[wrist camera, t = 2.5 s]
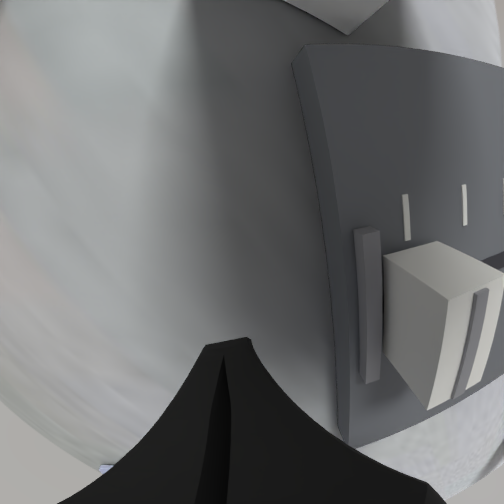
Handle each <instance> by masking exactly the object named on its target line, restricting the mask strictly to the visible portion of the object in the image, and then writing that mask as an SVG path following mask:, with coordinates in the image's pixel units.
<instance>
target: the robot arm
mask: <svg viewBox="0 0 504 504" xmlns="http://www.w3.org/2000/svg"><path fill="white" fill-rule="evenodd" d="M99 470H100V472H101V473H102V474H103V475H102V476H101V477H99V478H98V479H96V480H95V481H94V482H92V483H91V484H90V485H88V486H86V487H85V488H83V489H82V490H81V491H79V492H77V493H76V494H74V495H72V496H71V497H69V498H67V499H65V500H63V501H61V502H59V503H57V504H446V502H445V501H444V500H443V499H442V497H441V496H440V495H439V494H438V493H437V492H436V491H435V490H434V489H433V488H432V487H431V486H430V485H429V484H428V483H427V482H424V481H422V480H419V479H416V478H414V477H411V476H408V475H406V474H403V473H401V472H398V471H396V470H394V469H392V468H389V467H387V466H385V465H383V464H381V463H379V462H377V461H375V460H373V459H371V458H369V457H368V456H366V455H364V454H362V453H360V452H359V451H357V450H355V449H354V448H352V447H351V446H349V445H348V444H346V443H344V442H343V441H341V440H340V439H338V438H337V437H335V436H334V435H332V434H331V433H329V432H328V431H327V430H325V429H324V428H323V427H322V426H320V425H319V424H318V423H317V422H315V421H314V420H313V419H312V418H311V417H309V416H308V415H307V414H306V413H305V412H304V411H303V410H302V409H300V408H299V407H298V406H297V405H296V404H295V403H294V402H293V401H292V400H291V399H290V398H289V397H288V395H287V394H286V393H285V392H284V391H283V390H282V389H281V388H280V387H279V385H278V384H277V383H276V382H275V381H274V379H273V378H272V377H271V375H270V374H269V373H268V371H267V370H266V369H265V367H264V366H263V364H262V363H261V361H260V359H259V358H258V356H257V354H256V352H255V350H254V348H253V345H252V341H251V339H249V338H247V337H244V338H239V339H234V340H229V341H224V342H219V343H213V344H208V345H205V347H204V348H203V350H202V352H201V353H200V355H199V357H198V359H197V361H196V363H195V364H194V366H193V368H192V370H191V371H190V373H189V375H188V377H187V378H186V380H185V381H184V383H183V385H182V386H181V388H180V389H179V391H178V393H177V394H176V396H175V397H174V399H173V400H172V401H171V403H170V404H169V406H168V407H167V408H166V410H165V411H164V413H163V414H162V416H161V417H160V418H159V419H158V421H157V422H156V423H155V424H154V426H153V427H152V428H151V429H150V430H149V432H148V433H147V434H146V435H145V436H144V437H143V438H142V439H141V441H140V442H139V443H138V444H137V445H136V446H135V447H134V448H133V449H131V450H130V451H129V452H128V453H127V454H126V455H125V456H124V457H123V458H122V459H121V460H119V461H118V462H117V463H116V464H115V465H100V468H99Z"/></svg>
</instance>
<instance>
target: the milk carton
mask: <svg viewBox="0 0 504 504" xmlns="http://www.w3.org/2000/svg"><path fill="white" fill-rule="evenodd" d="M283 1H285V2H287V3H290V4H292V5H294V6H296V7H298V8H300V9H302V10H304V11H306V12H308V13H309V14H311V15H313V16H315V17H317V18H319V19H320V20H322V21H324V22H326V23H328V24H329V25H331V26H333V27H334V28H336V29H338V30H339V31H341V32H343V33H344V34H346V35H350V34H351V33H352V32H353V31H354V30H355V29H356V28H358V27H359V26H360V25H361V24H362V23H363V22H364V21H366V20H367V19H368V18H369V17H370V16H371V15H373V14H374V13H375V12H376V11H377V10H378V9H380V8H381V7H382V6H383V5H384V4H386V3H387V2H388V1H389V0H283Z"/></svg>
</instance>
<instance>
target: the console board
mask: <svg viewBox="0 0 504 504" xmlns="http://www.w3.org/2000/svg"><path fill="white" fill-rule="evenodd" d="M291 64H292V68H293V72H294V77H295V81H296V85H297V89H298V94H299V98H300V103H301V107H302V112H303V117H304V122H305V126H306V131H307V136H308V142H309V147H310V152H311V158H312V163H313V169H314V175H315V181H316V187H317V193H318V199H319V206H320V212H321V219H322V226H323V234H324V241H325V249H326V257H327V266H328V275H329V284H330V294H331V305H332V316H333V329H334V343H335V359H336V378H337V408H338V428H339V430H340V433H341V435H342V437H343V440H344V442H345V443H346V444H348V445H349V446H351V447H352V448H354V449H356V448H358V447H361V446H364V445H367V444H370V443H372V442H375V441H378V440H380V439H383V438H385V437H388V436H390V435H393V434H395V433H398V432H400V431H402V430H404V429H407V428H409V427H411V426H413V425H416V424H418V423H420V422H422V421H424V420H426V419H428V418H430V417H432V416H434V415H436V414H438V413H440V412H442V411H444V410H445V409H447V408H449V407H451V406H453V405H455V404H456V403H458V402H460V401H462V400H463V399H465V398H467V397H468V396H470V395H472V394H473V393H475V392H477V391H478V390H480V389H481V388H483V387H484V386H486V385H487V384H489V383H491V382H492V381H493V380H495V379H496V378H498V377H499V376H501V375H502V374H504V291H503V296H502V302H501V307H500V312H499V317H498V321H497V326H496V330H495V334H494V338H493V342H492V346H491V349H490V353H489V356H488V359H487V363H486V366H485V369H484V372H483V375H482V378H481V381H480V382H478V383H477V384H475V385H473V386H472V387H470V388H468V389H467V390H465V392H464V394H462V395H460V396H458V397H457V398H455V399H452V398H451V399H449V400H447V401H445V402H443V403H441V404H439V405H437V406H435V407H433V408H431V409H429V410H426V409H425V408H424V406H423V405H422V403H421V402H420V401H419V399H418V398H417V397H416V395H415V394H414V393H413V391H412V390H411V389H410V387H409V386H408V384H407V383H406V382H405V380H404V379H403V378H402V376H401V375H400V374H399V373H398V371H397V370H396V369H395V367H394V366H393V365H392V363H391V362H390V361H389V359H388V358H387V357H386V355H385V354H384V353H383V334H384V269H383V255H387V254H391V253H394V252H398V251H402V250H406V249H409V248H413V247H417V246H421V245H424V244H428V243H431V242H435V241H439V242H441V243H443V244H445V245H447V246H450V247H452V248H454V249H456V250H458V251H460V252H462V253H464V254H467V255H469V256H471V257H473V258H475V259H477V260H479V261H481V262H483V263H485V264H487V265H489V266H491V267H493V268H495V269H497V270H499V271H500V272H502V273H504V68H502V67H499V66H495V65H492V64H488V63H485V62H481V61H477V60H473V59H469V58H464V57H460V56H455V55H450V54H445V53H440V52H434V51H427V50H421V49H413V48H405V47H395V46H384V45H368V44H307V45H304V47H303V48H302V49H301V51H300V52H299V54H298V55H297V56H296V58H295V59H294V60H293V62H292V63H291Z"/></svg>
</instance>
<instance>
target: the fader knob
mask: <svg viewBox="0 0 504 504" xmlns="http://www.w3.org/2000/svg"><path fill="white" fill-rule="evenodd" d="M383 269H384V334H383V353H384V354H385V355H386V357H387V358H388V359H389V361H390V362H391V363H392V365H393V366H394V367H395V369H396V370H397V371H398V373H399V374H400V375H401V376H402V378H403V379H404V380H405V382H406V383H407V384H408V386H409V387H410V389H411V390H412V391H413V393H414V394H415V395H416V397H417V398H418V399H419V401H420V402H421V403H422V405H423V406H424V408H425V409H426V410H429V409H431V408H433V407H435V406H437V405H439V404H441V403H443V402H445V401H447V400H449V399H451V398H452V399H455V398H457V397H458V396H460V395H462V394H464V392H465V390H467V389H468V388H470V387H472V386H473V385H475V384H477V383H478V382H480V381H481V378H482V375H483V372H484V369H485V366H486V363H487V359H488V356H489V353H490V349H491V346H492V342H493V338H494V334H495V330H496V326H497V321H498V317H499V312H500V307H501V302H502V296H503V291H504V273H502V272H500V271H499V270H497V269H495V268H493V267H491V266H489V265H487V264H485V263H483V262H481V261H479V260H477V259H475V258H473V257H471V256H469V255H467V254H464V253H462V252H460V251H458V250H456V249H454V248H452V247H450V246H447V245H445V244H443V243H441V242H439V241H435V242H431V243H428V244H424V245H421V246H417V247H413V248H409V249H406V250H402V251H398V252H394V253H391V254H387V255H383Z"/></svg>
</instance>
